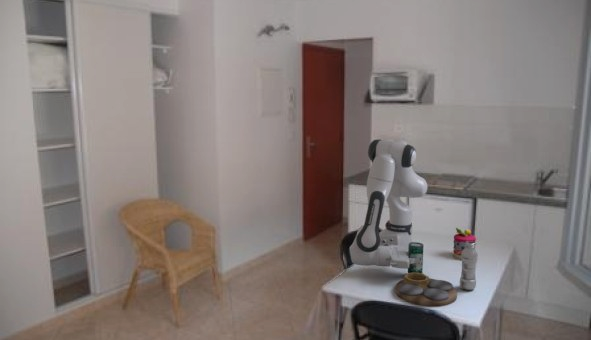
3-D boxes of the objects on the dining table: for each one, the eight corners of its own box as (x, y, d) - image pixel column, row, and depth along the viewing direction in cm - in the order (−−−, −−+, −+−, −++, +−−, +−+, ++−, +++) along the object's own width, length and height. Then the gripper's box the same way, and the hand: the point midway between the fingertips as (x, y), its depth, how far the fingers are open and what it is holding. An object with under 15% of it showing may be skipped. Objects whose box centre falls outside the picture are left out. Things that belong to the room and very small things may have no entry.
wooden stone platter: (388, 299, 187) (388, 288, 186) (403, 278, 208) (403, 268, 207) (451, 311, 176) (452, 299, 175) (460, 288, 197) (461, 277, 196)
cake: (464, 252, 241) (466, 224, 239) (479, 259, 231) (481, 229, 229) (448, 255, 237) (449, 226, 235) (462, 262, 227) (464, 232, 225)
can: (411, 279, 206) (412, 246, 204) (405, 274, 212) (406, 242, 210) (424, 278, 207) (425, 246, 205) (418, 273, 213) (419, 241, 211)
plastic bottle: (455, 288, 197) (458, 242, 194) (465, 284, 201) (467, 239, 198) (469, 293, 192) (472, 246, 189) (479, 289, 196) (481, 242, 193)
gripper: (387, 257, 199) (421, 258, 197) (384, 242, 219) (414, 243, 217) (387, 271, 200) (420, 272, 198) (384, 255, 220) (414, 256, 218)
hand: (417, 257), depth 208 cm, fingers closed on can, 6 cm apart
